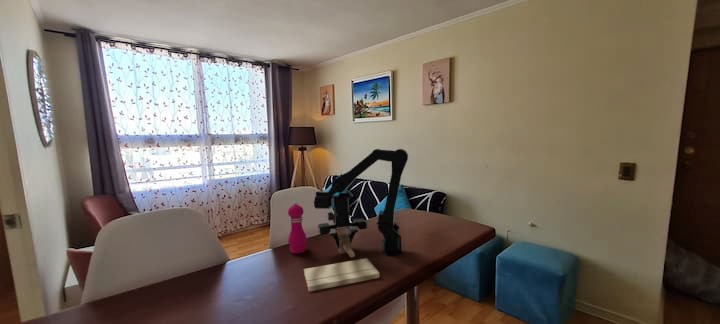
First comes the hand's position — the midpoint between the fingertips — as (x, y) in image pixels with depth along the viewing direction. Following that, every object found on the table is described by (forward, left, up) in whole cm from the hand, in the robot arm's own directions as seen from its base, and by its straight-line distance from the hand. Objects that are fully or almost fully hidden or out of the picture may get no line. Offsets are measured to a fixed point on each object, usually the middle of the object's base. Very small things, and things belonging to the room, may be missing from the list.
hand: (343, 247), depth 113 cm
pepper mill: (+17, -7, -1) cm, 18 cm away
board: (+6, +20, -1) cm, 21 cm away
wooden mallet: (0, +5, -1) cm, 5 cm away
